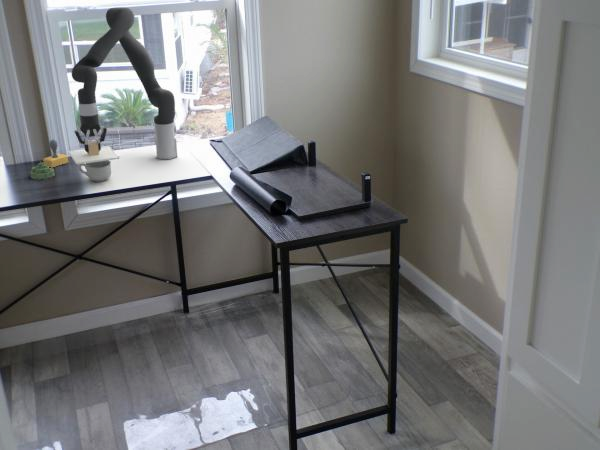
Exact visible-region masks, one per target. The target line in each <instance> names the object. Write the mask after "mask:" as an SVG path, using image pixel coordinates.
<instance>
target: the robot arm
mask: <svg viewBox="0 0 600 450" xmlns="http://www.w3.org/2000/svg"><path fill="white" fill-rule="evenodd" d="M105 13H106V14H105V20H106V23H107V25H108V27H109V30H108V31H107V32H106V33H104V34H103V35H102V36H100V37H99V38H98V39H97V40H96V41H95V42H94V43H93V45H92V46H91V47H90V49H89V50H88V52H87V53H86V55H85V56H83V57H82V58H80V60H78V62H77V63H76V64H74V65H73V67H72V69H71V78H72V79H73V80H74V82H77V83H83V86H82V88H79V89H78V90H77V98H78V111H79V113H78V114H79V121H80V127H79V128H78V129H77V130H76V129H75V130H74V131H73V132H74V134H75V136H76V139H77V140H78V142H79V143H80V144H81V145H83V146H84V148H83V149H85V151H86V152H87V153H89V148H88V142H89V138H90V137H94V139H95V141H96V142H97V143H98V149H99V151H100V150H101V147H102V146H101V145H102V144H101V142H104V141H105V139H106V134H107V132H108V130H107V127H105V126H101V125H100V120H99V110H98V105H97V101H96V100H97V99H96V90H97V84H98V83H97V82H98V73H97V71H96V69H95V68H99V67H101V66H102V64H104V63H103V62H104V61H105V60H106V59H107V57H108V55H109V53H110V52H111V51H112V50H113V48H114V47H115V46H116V45H117V43H118V42H119V43H120V45H121V48H122V49H123V52H125V54H126V57H127V58H128V60H129V63H130V64H131V65H132V67H133V69H134V71H135V73H136V74H137V77H138V80H139V81H140V83H141V84H142V87H143V88H144V91H145V93H146V97H147V99H148V100H149V103H150V104H151V105H152V106H153V107H154V108H158V110H157V111H158V112H157V113H158V114H157V115H155V116H154V117H153V122H154V123H153V124H154V125H153V126H154V132H155V133H154V135H155V137H154V138H155V148H156V149H155V150H156V158H157V159H160V160H170V159H175V158H177V157H178V148H177V145H178V144H177V138H176V136H175V134H176V133H175V121H174V119H175V116H176V101H175V96H174V95H175V94H174V93H173V92H172V91H171V90H168V89H165V88H163V87H161V85H160V84H159V82H158V80H157V78H156V75H155V65H154V61H153V59H152V57H151V55H150V53H149V51H148V50H147V48H146V47H145V46H144V45H143V44H142V42H140V41H139V40H138V39H137V38H135V36H133V34H132V33H131V32H130V30H131V28H132V27H133V25H134V23H135V20H136V19H135V18H136V17H135V14H134V12H133V10H131V8H128V7H123V6H121V7H111V8H109V9H107V10H106V12H105ZM100 131H101V134H100V137H99V132H100ZM81 132H82V134H84V136H83V139H82V138H81V135H82V134H81ZM176 156H177V157H176ZM174 157H175V158H174Z"/></svg>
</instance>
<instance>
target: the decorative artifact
mask: <svg viewBox="0 0 600 450" xmlns="http://www.w3.org/2000/svg"><path fill="white" fill-rule="evenodd" d="M29 173H30V178H31V179H32V180H36V179H37V180H39V181H40V180H41V179H43V180H48V178H49V179H51V177H52V178H54V177H55V169H54V168H49V165H46V164H44V162H42V161H41V160H40V161H39V162H38V163H37V165H35V166H32V167H31V170H30V171H29ZM53 176H54V177H53ZM41 181H42V180H41Z"/></svg>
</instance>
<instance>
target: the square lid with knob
mask: <svg viewBox="0 0 600 450" xmlns="http://www.w3.org/2000/svg"><path fill="white" fill-rule="evenodd" d="M88 148H89V153H87V152H86V151H85V148H83V149H75V150H68V151H67V153H68V154H69V155H70V158H72V160H73V162H74V163H75V164H76V165H80V164H86V163H92V162H100V161H107V160H109V161H114V160H119V159H120V156H119V155H118V154H117V153H116V152H115V151H114V150H113V149H112V148H111V147H110V146H109V145H107V146H101V150H100V151H99V149H98V143H97V141H96V140H95V141H88Z"/></svg>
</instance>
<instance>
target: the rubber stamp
mask: <svg viewBox="0 0 600 450" xmlns="http://www.w3.org/2000/svg"><path fill="white" fill-rule="evenodd" d="M49 147H50V149H51V151H52V153H53V154H52V156H47V157H44V158H43V159H42V161H43V162H42V163H44V164H46V165H49V167H51V168H53V167H54V168H56V166H57V167H59V165H60V166H63V165H65V164H68V163H69V158H68V157H69V156H68V155H67V154H61V153H57V149H58V142H57V140H55V139H52V140H50V141H49ZM62 164H63V165H62ZM54 168H53V169H54Z"/></svg>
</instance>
